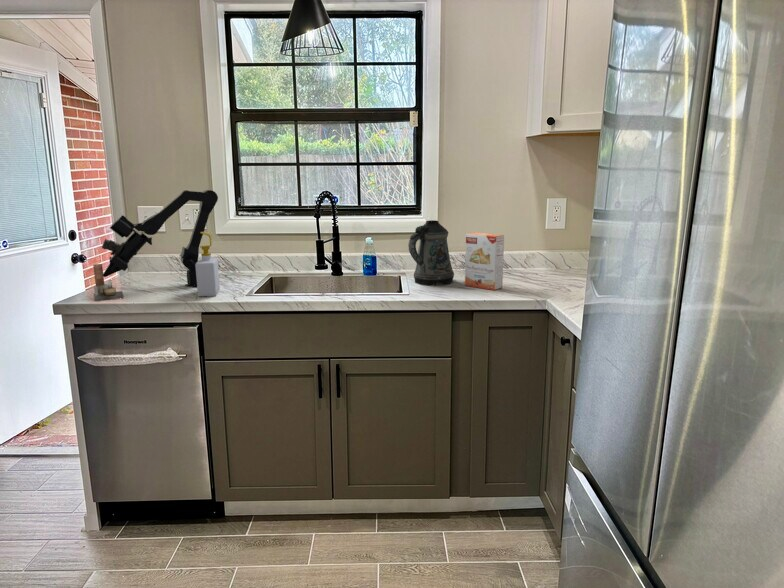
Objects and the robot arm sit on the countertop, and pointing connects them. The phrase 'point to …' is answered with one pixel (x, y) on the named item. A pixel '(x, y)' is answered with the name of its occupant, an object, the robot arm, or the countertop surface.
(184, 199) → the robot arm
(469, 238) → the cracker box
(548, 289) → the countertop surface
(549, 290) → the countertop surface
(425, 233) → the beer stein
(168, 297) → the countertop surface
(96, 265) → the link
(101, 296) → the base plate
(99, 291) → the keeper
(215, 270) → the soap bottle
